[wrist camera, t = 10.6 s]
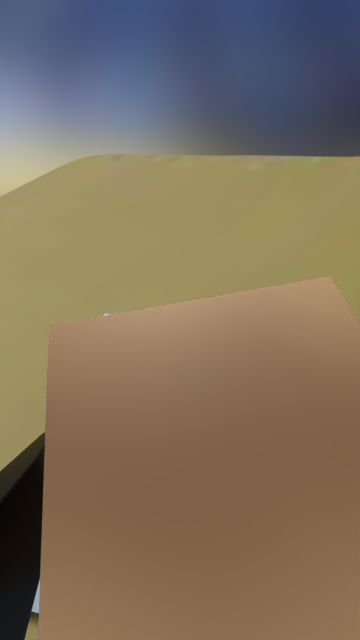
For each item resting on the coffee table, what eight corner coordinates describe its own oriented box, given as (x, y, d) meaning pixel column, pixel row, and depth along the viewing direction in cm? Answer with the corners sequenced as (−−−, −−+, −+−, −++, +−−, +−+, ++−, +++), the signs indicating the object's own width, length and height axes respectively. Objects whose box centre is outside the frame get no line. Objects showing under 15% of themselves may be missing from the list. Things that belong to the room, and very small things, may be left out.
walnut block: (243, 486, 14) (592, 703, 2) (156, 510, 13) (25, 959, 2) (218, 397, 16) (329, 276, 4) (143, 414, 15) (49, 325, 4)
